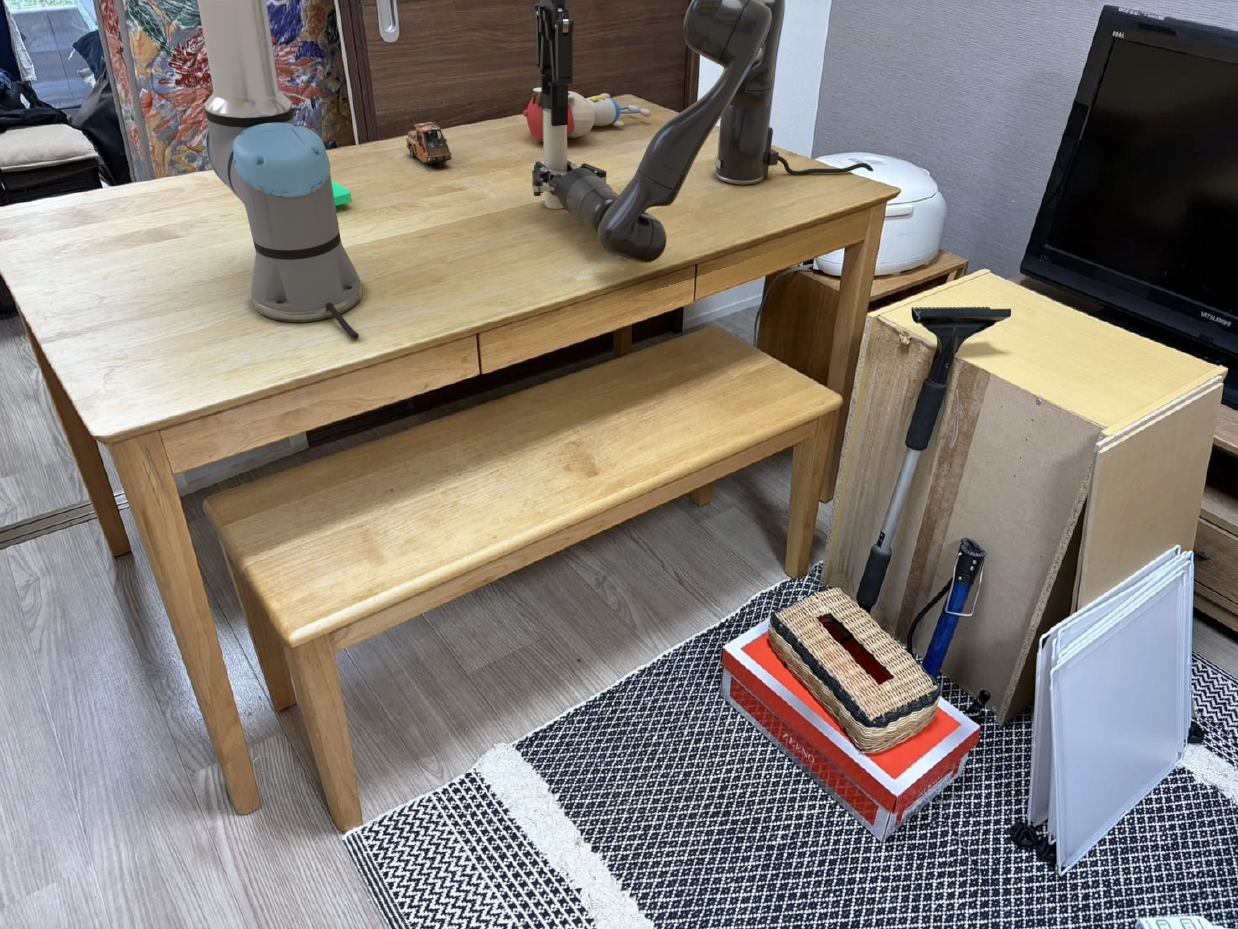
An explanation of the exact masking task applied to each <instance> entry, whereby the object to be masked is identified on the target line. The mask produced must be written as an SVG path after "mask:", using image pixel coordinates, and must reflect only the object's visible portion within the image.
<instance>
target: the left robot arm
mask: <svg viewBox="0 0 1238 929" xmlns="http://www.w3.org/2000/svg"><path fill="white" fill-rule="evenodd" d="M197 5H198V11H199V17H200V22H201V23H200V24H201V28H202V34H203V41H204V46H205V52H206V56H207V62H208V67H209V73H210V79H211V83H212V90H213V91H212V94H211V95H210V96H208V98H207V99H206V101H205V102H204V104H203V105H204V111H205V116H206V121H207V122H206V123H207V129H206V132H205V138H204V139H205V140H204V143H205V144H204V145H205V146H204V147H205V151H206V155H207V159H208V162H209V164H210V167H211V168H212V170H213V172H214V173H215V175H216V176H217V177H218V178H219V180H220V181H221V182H223V184H224V185H225V186H227V187H228V188H229V189H230V190H231V192H232V193H233V194H234V195H235V196H236V197H237V198H238V199H239V200H240V201H241V203H242V204H243V206H244V208H245V211H246V215H247V219H248V220H247V221H248V224H249V228H250V234H251V237H252V238H251V239H252V242H253V247H254V251H255V258H254V264H253V273H252V283H251V291H250V292H251V299H252V303H253V307H254V309H255V310H256V311H257V313H259V314H260V315H262V316H264V317H266V318H268V319H271V320H275V321H281V322H289V323H304V322H314V321H315V322H316V321H320V320H326V319H330V318H332V317H334V319H335V320H336V321H337V322H338V324H339V325H340V326H341V328H342V329H343V330H344V331H345V333H346V334H348V336H349V337H351V338H352V339H353V340H357V339H359V336H360V334H359V333H358V332H356V331H355V329H353V328H352V327H351V326H350V324H349V323H348V322H347V321H346V319H345V318H344V316H342V314H343V313H345V312H348V311H349V310H351V309H353V308H354V307H355V306H356V305H357V304H358V303H359V302H360V301H361V298H362V297H363V287H362V282H361V278H360V276H359V274H358V272H357V270H356V268H355V266H354V264H353V263H352V261H351V259H350V257H349V255H348V253H347V251H346V250H345V248H344V245H343V243H342V239H341V233H340V226H339V220H338V214H337V207H336V206H335V201H334V194H333V188H332V182H331V181H332V177H331V162H330V158H329V156H328V154H327V150H326V146H325V144H324V143H325V142H324V141H323V139H322V138H321V137H320V136H319V135H318V134H317V133H316V132H315V131H313V130H311V129H309V128H308V127H305V126H302V125H298V126H297V125H296V122H295V116H294V108H293V102H292V101H291V100H290V99H289V97H287V96H286V95H285V94H283V93H282V92H281V90H280V88H279V81H278V73H277V66H276V60H275V53H274V52H275V51H274V45H273V37H272V29H271V24H270V16H269V10H268V2H267V0H197ZM533 10H534V17H535V22H534V23H535V50H536V51H535V52H536V68H537V69H539V73H540V75H541V76H540V83H541V84H540V85H541V86H540V88H541V90H543V89H546V88H551V125H552V126H562V125H568V91H569V90H568V88H569V85H572V84H573V81H574V80H573V35H574V34H573V32H574V24H575V22H574V19H573V18H572V17H571V18H570V16H569V9H568V8H567V1H566V0H539V3H538V2H537V3H534V4H533ZM543 109H544V108H543V107H542V116H543Z"/></svg>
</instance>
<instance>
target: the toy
mask: <svg viewBox="0 0 1238 929" xmlns="http://www.w3.org/2000/svg"><path fill="white" fill-rule="evenodd" d="M532 91H533V94H532V98H531V100H529V103H528V105H527V108H526V109H524V110H523V112H522V115H523V116H524V117H525V118H526V123H527V126H528V129H529V131H530V133H531V136H532V137H533V139H534V140H535V141H537V142H541V143H543V116H542V107H541V87H534V88H533V89H532ZM621 114H622V115H626V114H627V115H630V114H640V115H642V116H643V117H647V118H648V117H651V116H652V111H651V110H650V109H648V108H639V106H637V105H634V104H629V105H628V106H623V107H620V105H619V103H617V102H616V100H614V99H612V98H611V95H610V94H609V93H605V92H604V93H601V94H599V95H598V94H597V95H593V96H590V97H587V98H586V95H583V94H580V93H578V92H575V91H570V90H568V125H567V138H570V139H573V138H579V137H583V136H585V135H586V134H587V133H589V132H590V131H591V130H592V128H593V126H596V127H597V126H598V127H605V126H609V125H612V124H613V126H615V127H618V128H621V127H623V126H624V122H623V121H619V118H620V115H621Z"/></svg>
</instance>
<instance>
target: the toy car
mask: <svg viewBox="0 0 1238 929" xmlns="http://www.w3.org/2000/svg"><path fill="white" fill-rule="evenodd" d="M413 127H415V130H411V131H408V133H407V138H406V139H405V141H406V148H407V149H408V150H409V154H410V157H411V158H417V159H418V160H419V161H421V162H422V163H423V164H424V165H431V164H436V167H437V168H439V169H441V168H442V165H443V163H447V162H448V161H450V160H453V157H452V152H451V151H450V147H449V145H448V143H447V141H448V140H447V138H445V136H444V134H443V132H442V128H441V127H440V126H438V124H437V123H436V122H435V121H429V122H421V123H416V124H414V126H413Z"/></svg>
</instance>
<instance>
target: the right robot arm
mask: <svg viewBox="0 0 1238 929" xmlns="http://www.w3.org/2000/svg"><path fill="white" fill-rule="evenodd" d="M785 10H786V0H691V2H690V4H689V6H688V8H687V10H686V13H685V17H684V20H683V25H682V36H683V41H684V43H685V45H686V46H687V47H688V48H689V49H690V50H692V51H693V52H695V53H696V54H698V55H700V56H702V57H704V58H705V59H707V60H709V61H711V62H713V63H714V64H717V65H719V66H721V67H722V68H723V71H722V72H721V75H720V76H719V77H718V79H717V80H716V82H715V83H714V85H713V86H712V87H711V88H710V89H709V90H708V91H707V92H706V93H705V94H704V95H703V96H702V97H700V98H699V99H698V100H697V101H695V102H694V103H693V104H691V105H690V106H688V107H687V108H685V109H684V110H682V111H681V112H679V113H678V114H676V115H675V116H673V117H672V118H671V119H669V120H668V121H666V122H665V123H664V124H663V125H662V126H661V127H660V128H659V129H658V130H657V131H656V132H655V134H654V135H653V136H652V138H651V140H650V141H649V143H648V145H647V147H646V150H645V151H644V154H643V156H642V158H641V160H640V162H639V164H638V167H637V169H636V171H635V173H634V176H633V177H632V178H631V180H630V181H629V182H628V183H627V185H626V186H625V187H624V188H623V190H622V191H621V193H620V194H618V193H617V192H616V191H614V190H613V188H612V187H611V185H610V184H608V182H607V171H606V170H604V169H601V168H599V167H596V166H594V165H591V164H589V163H585V162H584V163H581V164H580V165H578V164H577V163H575V162H572V161H570V160H568V159H567V173H566V172H561V171H559V170H556V169H548V168H547V167H546V166H545V165H544V163H543V162H541V161H535V164H533V170H531V176H532V181H531V183H532V191H533V196H534V197H540V196H542V194H544V193H545V192H546V191H549V192H550V193H551V194H552V195H555V196H557V198H558V199H559V201H560V203H561V205H562V206H563V207H564V208H563V209H565V210H566V211H567V212H568V213H570V215H572V216H573V217H574V218H575V219H576V220H577V221H578V222H579V223H580V224H582V225H584V226H586V227H587V228H588V229H589V230H591V231H592V232H593V233H594V234H595V235H596V236H597V241H598V244H599V246H600V248H601V249H602V251H603V252H605V253H607V254H609V255H613V256H615V257H620V258H623V259H626V260H630V261H633V262H637V263H640V264H649V263H652V262H654V261H657V260H658V259H659V258H660V257H661V256H662V255H663V253H664V252H665V249H666V247H667V242H668V241H667V231H666V229H665V227H664V225H663V224H662V222H661V221H660V220H659V219H658V218H656V217H655V216H654V215H652V214H650V213H649V212H646V211H647V210H648V209H650V208H653V207H658V208H659V207H660V208H662V207H670V206H672V204H674V202H675V201H676V199H677V197H678V195H679V194H680V191H681V190H682V187H683V185H684V183H685V181H686V179H687V177H688V175H689V173H690V170H691V169H692V166H693V164H694V163H695V161H696V159H697V157H698V155H699V153H700V151H701V150H702V147H703V146H704V144H705V142H706V141H707V139H708V138H709V136H710V135H711V133H712V131H713V130H714V128H715V126H717V124H718V122H719V132H718V143H717V154H716V156H715V157H714V165H715V172H714V176H715V178H717V180H719V181H722V182H724V183H727V184H732V185H739V186H740V185H743V186H745V185H746V186H747V185H753V184H758V183H760V182H762V181H763V180H766V179H768V175H769V168H770V167H771V166H777V165H778V162H780V163H781V164H782V165H783V167H784V170H785V171H786V173H787V174H789V175H791V176H803V175H809V174H843V173H848V172H852V171H855V170H857V169H860V168H861V169H862V168H863V169H866V170H867V171H868V172H874V168H873V167H872V166H871V165H870V164H868V163H866V162H859V163H855V164H853V165H850V166H847V167H841V168H808V169H803V170H794V169H791V168H790V166H789V162H788V161H787V160H786V159H785V158H784V157H783V156H781V155H780V153H779V152H778V151H776V150H774V149H773V148H772V145H773V144H772V143H773V135H774V129H773V127H771V126H770V123H771V115H772V106H773V99H774V98H773V97H774V88H775V82H776V81H775V80H776V71H777V63H778V62H777V61H778V54H779V48H780V42H781V36H782V32H783V31H782V30H783V25H784V19H785Z"/></svg>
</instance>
